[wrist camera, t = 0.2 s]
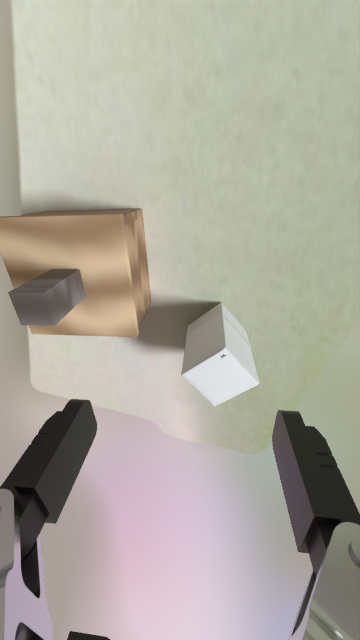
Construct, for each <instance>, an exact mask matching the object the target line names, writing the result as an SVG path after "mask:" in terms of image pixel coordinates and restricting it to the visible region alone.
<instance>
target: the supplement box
mask: <svg viewBox="0 0 360 640" xmlns="http://www.w3.org/2000/svg"><path fill="white" fill-rule="evenodd" d="M181 375H182V376H183V377H184V378H185V379H186V380H187V381H188V382H189V383H190V384H191V385H192V386H194V387H195V388H196V389H197V390H198V391H199V392H200V393H201V394H202V395H203V396H204V397H205V398H206V399H207V400H208V401H209V402H210V403H212V404H213V405H214V406H216V405H218V404H220V403H222V402H224V401H226V400H228V399H230V398H232V397H234V396H236V395H238V394H240V393H242V392H244V391H246V390H248V389H250V388H252V387H254V386H256V385H259V380H258V376H257V372H256V368H255V364H254V360H253V357H252V353H251V349H250V345H249V341H248V337H247V333H246V331H245V329H244V328H243V327H242V326H241V325H240V323H239V322H238V321H237V320H236V319H235V318H234V316H233V315H232V314H231V313H230V312H229V311H228V309H227V308H226V307H225V306H224V305H223V304H222V303H219V304H218V305H216V306H215V307H213V308H212V309H211V310H209V311H208V312H206V313H205V314H203V315H202V316H201V317H199V318H198V319H196V320H195V321H193V322H192V323H191V324H189V325H188V329H187V336H186V344H185V352H184V359H183V367H182V374H181Z"/></svg>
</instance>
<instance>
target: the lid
mask: <svg viewBox="0 0 360 640" xmlns="http://www.w3.org/2000/svg"><path fill="white" fill-rule="evenodd" d="M0 252H1V255H2V258H3V260H4V263H5V265H6V268H7V270H8V273H9V276H10V278H11V281H12V284H13V286H14V290H12V291H10V292H9V295H10V298H11V300H12V303H13V305H14V308H15V310H16V313H17V315H18V318H19V320H20V323H21V325H28V326H29V328H30V331H31V333H32V334H47V335H82V336H118V337H137V336H138V334H139V330H138V322H137V315H136V308H135V300H134V293H133V285H132V278H131V270H130V263H129V255H128V248H127V240H126V233H125V225H124V218H123V214H86V215H48V216H12V217H11V216H10V217H0Z"/></svg>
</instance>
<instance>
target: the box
mask: <svg viewBox="0 0 360 640" xmlns="http://www.w3.org/2000/svg"><path fill="white" fill-rule="evenodd" d="M86 214H123V218H124V225H125V233H126V240H127V248H128V255H129V263H130V270H131V278H132V285H133V293H134V300H135V308H136V315H137V322H138V327H139V325H140V323H141V321H142V319H143V317H144V315H145V313H146V311H147V308H148V306H149V304H150V302H151V295H150V285H149V274H148V264H147V254H146V244H145V234H144V224H143V213H142V209H117V210H81V211H47V212H41V213H35V214H29V215H23V216H48V215H86Z"/></svg>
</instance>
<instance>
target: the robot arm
mask: <svg viewBox="0 0 360 640" xmlns="http://www.w3.org/2000/svg"><path fill="white" fill-rule="evenodd" d="M96 431H97V422H96V419H95V415H94V412H93V409H92V406H91V403H90V401H89V400H78V399H71V400H70V401H69V402H68V403H67V405H66V406H65V408H64V409H63V411H62V412H61V411H57V412H56V413H55V414H54V415H53V416H51V418H49V419H48V420H47V421H46V422H45V424H44V425H43V426H42V428H41V429H40V431H39V433H38V435H36V437H35V438H34V439H33V441H32V443H31V445H29V447H28V448H27V450H26V451H25V452H24V454H23V455H22V457H21V458H20V460H19V461H18V463H17V464H16V465H15V467H14V468H13V470H12V471H11V473H10V474H9V476H8V477H7V479H6V480H5V481H4V483H3V484H2V485H1V487H0V640H54V632H53V625H52V619H51V615H50V612H49V609H48V606H47V602H46V596H45V584H44V572H43V560H42V548H41V536H40V531H41V529H42V527H43V525H44V523H45V522H46V523H56V522H57V520H58V518H59V515H60V513H61V511H62V509H63V507H64V505H65V502H66V500H67V498H68V496H69V493H70V491H71V489H72V487H73V485H74V482H75V480H76V478H77V476H78V474H79V471H80V469H81V467H82V464H83V462H84V460H85V458H86V456H87V454H88V451H89V449H90V447H91V445H92V443H93V440H94V438H95V435H96ZM272 442H273V450H274V454H275V458H276V462H277V467H278V471H279V474H280V479H281V483H282V487H283V491H284V495H285V499H286V504H287V508H288V512H289V516H290V520H291V524H292V528H293V532H294V536H295V540H296V545H297V549H298V552H303V553H309V555H310V559H311V562H312V566H313V569H312V572H311V575H310V578H309V580H308V583H307V586H306V589H305V592H304V595H303V598H302V601H301V604H300V607H299V610H298V613H297V616H296V619H295V622H294V625H293V627H292V630H291V633H290V636H289V639H288V640H360V514H359V512H358V509H357V507H356V505H355V503H354V501H353V498H352V496H351V494H350V492H349V490H348V488H347V485H346V483H345V481H344V479H343V477H342V474H341V473H340V470H339V469H338V467H337V463H336V461H335V459H334V457H333V456H332V453H331V451H330V448H329V446H328V444H327V442H326V439H325V438H324V437H323V436H322V435H321V434H320V433H319V431H318V430H317V429H316V428H315V427H311V426H305V424H304V422H303V419H302V417H301V415H300V413H299V412H298V411H282V410H279V411H278V412H277V416H276V421H275V425H274V430H273V436H272ZM67 640H110V639H108V638H107V637H103V636H97V635H91V634H84V633H79V632H72V631H70V633H69V636H68V639H67Z"/></svg>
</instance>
